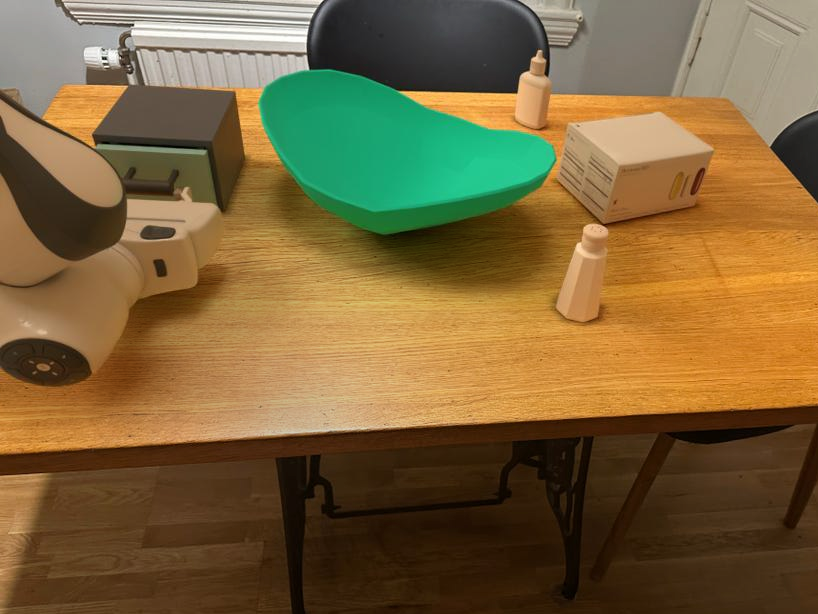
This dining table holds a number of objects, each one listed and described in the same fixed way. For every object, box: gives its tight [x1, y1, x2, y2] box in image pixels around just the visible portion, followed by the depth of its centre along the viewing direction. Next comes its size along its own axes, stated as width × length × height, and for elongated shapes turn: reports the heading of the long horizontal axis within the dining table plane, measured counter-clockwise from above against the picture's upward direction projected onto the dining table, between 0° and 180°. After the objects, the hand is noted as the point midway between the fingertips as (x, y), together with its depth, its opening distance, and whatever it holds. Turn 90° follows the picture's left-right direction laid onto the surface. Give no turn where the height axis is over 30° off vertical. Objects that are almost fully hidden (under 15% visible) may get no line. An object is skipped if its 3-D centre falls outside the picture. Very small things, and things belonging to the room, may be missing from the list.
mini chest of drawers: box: [91, 83, 246, 212], centre depth 92 cm, size 15×14×10 cm
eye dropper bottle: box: [514, 49, 552, 130], centre depth 115 cm, size 4×6×12 cm
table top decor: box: [257, 68, 558, 236], centre depth 90 cm, size 40×28×13 cm
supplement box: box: [556, 111, 716, 225], centre depth 101 cm, size 17×13×9 cm
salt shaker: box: [555, 223, 610, 323], centre depth 79 cm, size 5×5×11 cm
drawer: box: [94, 142, 218, 207], centre depth 89 cm, size 18×13×8 cm
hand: (142, 189), depth 81 cm, fingers open, 8 cm apart
